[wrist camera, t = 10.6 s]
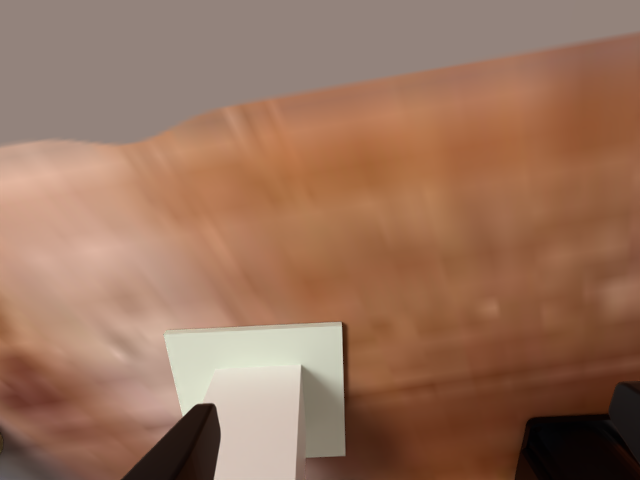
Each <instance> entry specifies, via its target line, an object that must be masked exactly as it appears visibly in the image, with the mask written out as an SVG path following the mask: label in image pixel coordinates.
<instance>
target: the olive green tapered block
mask: <svg viewBox="0 0 640 480" xmlns="http://www.w3.org/2000/svg"><path fill="white" fill-rule="evenodd" d="M2 450H3V438H2V436H1V433H0V454H1V452H2Z"/></svg>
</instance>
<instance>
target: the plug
mask: <svg viewBox="0 0 640 480" xmlns="http://www.w3.org/2000/svg"><path fill="white" fill-rule="evenodd" d="M203 403H214V404H215V406H216V408H217V413H218V419H219V424H220V429H221V441H220V447H219V453H218V459H217V464H216V470H215V476H214V480H305V464H306V419H305V407H304V395H303V383H302V371H301V365H282V366H263V367H244V368H224V369H215V372H214V374H213V377H212V380H211V382H210V385H209V387H208V390H207V392H206V395H205V398H204V400H203Z"/></svg>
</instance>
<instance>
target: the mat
mask: <svg viewBox="0 0 640 480" xmlns="http://www.w3.org/2000/svg"><path fill="white" fill-rule="evenodd" d="M163 335H164V339H165V343H166V347H167V352H168V356H169V360H170V364H171V369H172V373H173V377H174V382H175V386H176V390H177V394H178V399H179V403H180V407H181V412H182V416H184V415H185V414H186V413H187V412H188V411H189V410H190V409H191V408H192V407H193V406H195V405H196V404H200V403H203V400H204V398H205V395H206V392H207V390H208V387H209V385H210V382H211V380H212V377H213V374H214V372H215V369H224V368H244V367H263V366H282V365H301V371H302V383H303V395H304V407H305V419H306V458H313V457H333V456H346V455H345V419H344V383H343V347H342V323H341V322H327V323H306V324H286V325H265V326H245V327H224V328H204V329H183V330H166V332H165V333H164V334H163Z"/></svg>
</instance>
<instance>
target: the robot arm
mask: <svg viewBox="0 0 640 480" xmlns="http://www.w3.org/2000/svg"><path fill="white" fill-rule="evenodd" d="M220 441H221V429H220V424H219V419H218V413H217V408H216V406H215V404H214V403H200V404H196V405H195V406H193V407H192V408H191V409H190V410H189V411H188V412H187V413H186V414H185V415H184V416H183V417H182V418H181V419H180V420H179V421H178V422H177V423H176V424H175V425H174V426H173V427H172V428H171V429H170V430H169V431H168V432H167V433H166V435H165V436H164V437H163V438H162V439H161V440H160V441H159V442H158V443H157V444H156V445H155V446H154V447H153V448H152V449H151V450H150V451H149V452H148V453H147V454H146V455H145V456H144V457H143V458H142V459H141V460H140V461H139V462H138V463H137V464H136V465H135V466H134V467H133V468H132V469H131V470H130V471H129V472H128V473H127V474H126V475H125V476H124V477H123V478H122V479H121V480H214V476H215V470H216V464H217V459H218V453H219V447H220ZM515 480H640V381H626V382H619V383H618V384H617V385H616V387H615V390H614V393H613V396H612V400H611V403H610V406H609V415H588V416H568V417H547V418H533V419H531V420H529V421H528V422H527V424H526V428H525V433H524V438H523V443H522V447H521V451H520V456H519V461H518V466H517V470H516V475H515Z"/></svg>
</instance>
